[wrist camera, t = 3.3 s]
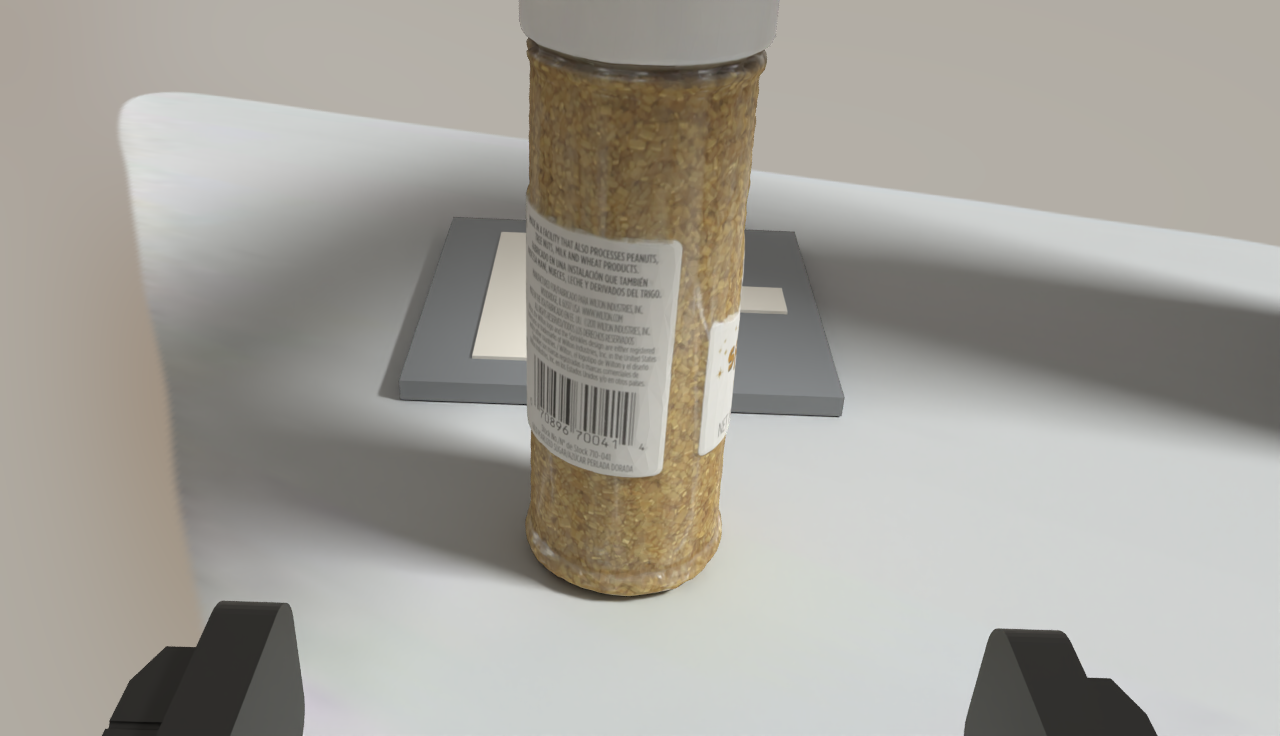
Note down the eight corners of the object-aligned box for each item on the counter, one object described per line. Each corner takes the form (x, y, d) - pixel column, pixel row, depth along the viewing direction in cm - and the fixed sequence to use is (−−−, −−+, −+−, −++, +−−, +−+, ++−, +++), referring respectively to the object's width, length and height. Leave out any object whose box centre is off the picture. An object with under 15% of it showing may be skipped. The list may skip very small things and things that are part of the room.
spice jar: (760, 549, 26) (842, -69, 19) (607, 637, 24) (640, -43, 17) (630, 457, 29) (662, -109, 22) (481, 525, 26) (465, -93, 20)
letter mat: (792, 247, 41) (794, 229, 40) (841, 416, 31) (845, 394, 31) (454, 232, 40) (453, 214, 40) (400, 399, 31) (398, 377, 30)
